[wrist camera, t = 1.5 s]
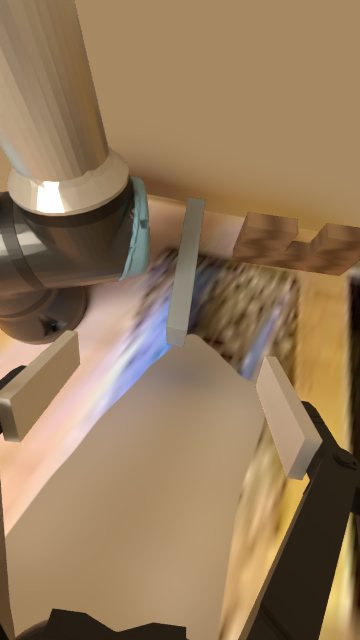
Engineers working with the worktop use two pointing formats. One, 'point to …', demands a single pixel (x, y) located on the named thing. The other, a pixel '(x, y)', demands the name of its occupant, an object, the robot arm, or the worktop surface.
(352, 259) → the walnut slotted board
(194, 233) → the grey plain narrow board
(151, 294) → the worktop surface
